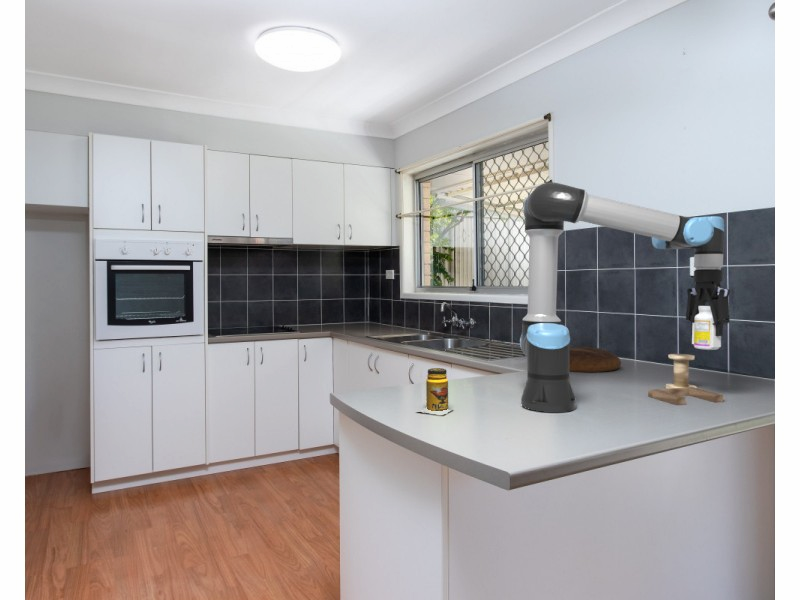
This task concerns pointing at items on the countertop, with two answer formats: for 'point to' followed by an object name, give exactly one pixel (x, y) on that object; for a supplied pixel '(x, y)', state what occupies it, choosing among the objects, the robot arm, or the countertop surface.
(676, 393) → the notch board
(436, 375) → the condiment
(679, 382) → the bobbin
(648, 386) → the countertop surface
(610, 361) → the bread
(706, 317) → the supplement bottle
